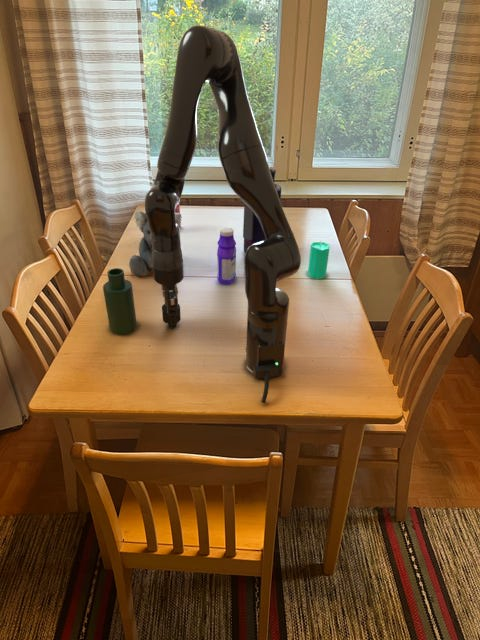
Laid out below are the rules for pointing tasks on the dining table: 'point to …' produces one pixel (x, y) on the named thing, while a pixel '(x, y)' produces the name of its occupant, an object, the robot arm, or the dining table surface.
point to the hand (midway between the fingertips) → (171, 318)
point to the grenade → (255, 222)
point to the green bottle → (119, 303)
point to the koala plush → (145, 246)
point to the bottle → (226, 256)
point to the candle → (318, 260)
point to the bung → (165, 316)
